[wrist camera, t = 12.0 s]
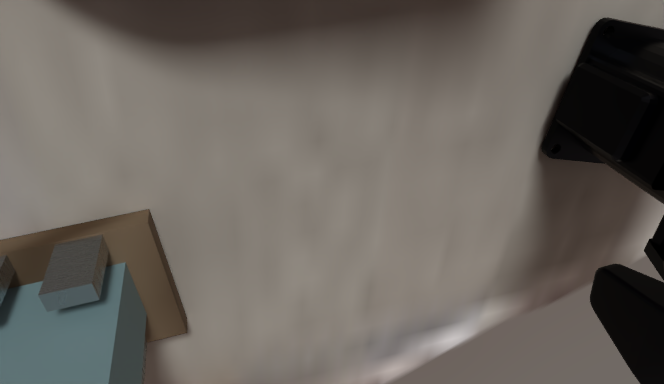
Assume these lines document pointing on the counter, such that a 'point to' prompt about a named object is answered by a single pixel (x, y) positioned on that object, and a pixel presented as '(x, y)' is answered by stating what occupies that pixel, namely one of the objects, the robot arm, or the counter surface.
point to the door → (74, 336)
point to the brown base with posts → (97, 268)
